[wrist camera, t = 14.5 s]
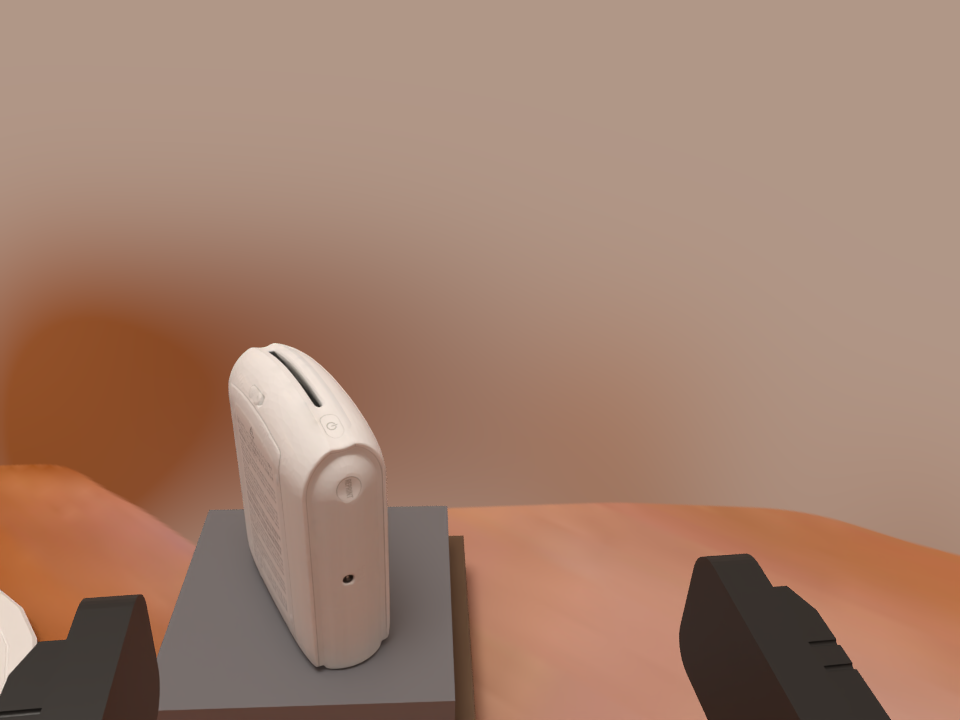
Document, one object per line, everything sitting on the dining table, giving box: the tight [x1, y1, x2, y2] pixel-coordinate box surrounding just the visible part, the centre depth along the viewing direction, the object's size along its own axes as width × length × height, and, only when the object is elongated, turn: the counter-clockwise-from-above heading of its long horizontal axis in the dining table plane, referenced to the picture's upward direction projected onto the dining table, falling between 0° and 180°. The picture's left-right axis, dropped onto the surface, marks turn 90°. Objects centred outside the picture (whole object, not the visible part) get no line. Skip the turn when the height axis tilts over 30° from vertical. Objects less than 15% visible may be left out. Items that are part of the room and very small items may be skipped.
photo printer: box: [229, 343, 390, 669], centre depth 37 cm, size 10×4×12 cm, turn 31°
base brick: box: [448, 536, 475, 720], centre depth 42 cm, size 15×15×3 cm
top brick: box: [157, 506, 455, 720], centre depth 41 cm, size 13×13×3 cm
